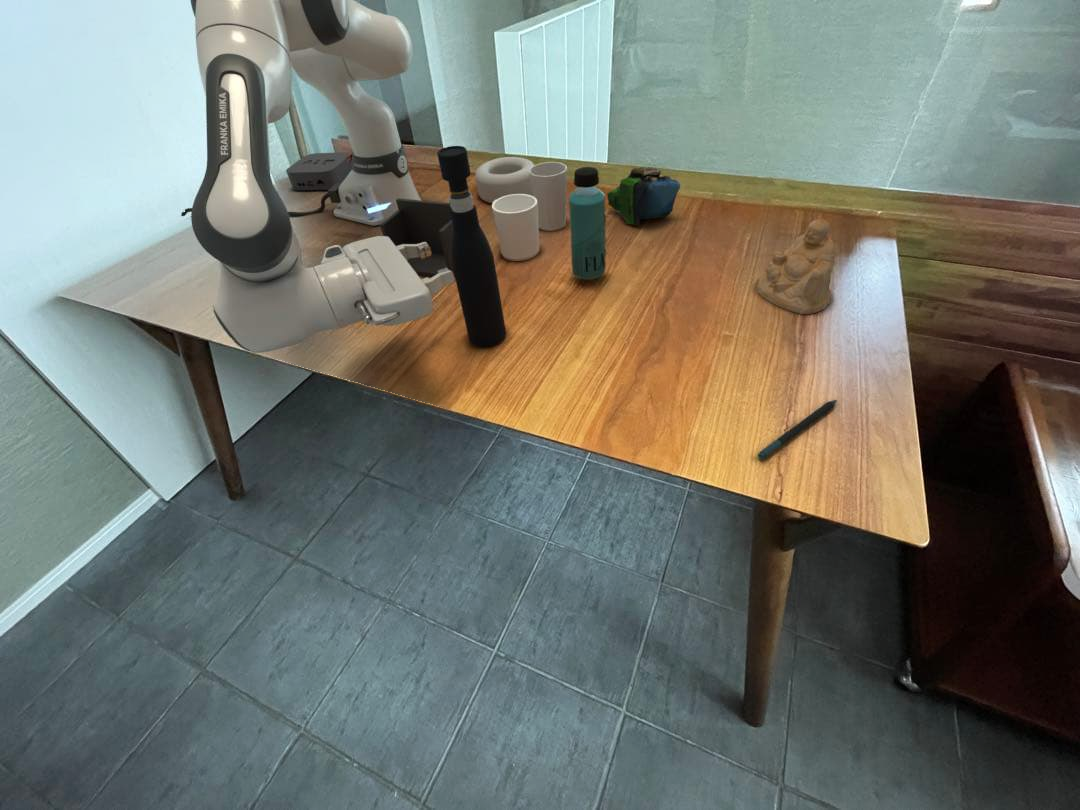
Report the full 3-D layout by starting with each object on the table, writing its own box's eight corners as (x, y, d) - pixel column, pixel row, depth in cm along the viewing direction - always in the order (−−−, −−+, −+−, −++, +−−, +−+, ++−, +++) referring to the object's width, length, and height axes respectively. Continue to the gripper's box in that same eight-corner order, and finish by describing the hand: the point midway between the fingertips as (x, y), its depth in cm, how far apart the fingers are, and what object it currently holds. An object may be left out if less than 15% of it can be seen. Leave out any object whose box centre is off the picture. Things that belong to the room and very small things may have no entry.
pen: (838, 405, 71) (841, 399, 70) (762, 462, 65) (764, 456, 64) (831, 401, 72) (834, 395, 71) (755, 457, 66) (757, 451, 65)
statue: (879, 231, 82) (846, 233, 77) (836, 313, 90) (804, 320, 85) (811, 208, 90) (777, 208, 85) (777, 285, 98) (744, 290, 92)
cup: (570, 215, 120) (568, 160, 112) (568, 231, 114) (565, 175, 106) (536, 216, 121) (531, 162, 113) (532, 232, 115) (526, 177, 107)
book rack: (392, 271, 108) (375, 215, 100) (412, 253, 113) (397, 198, 105) (452, 280, 104) (438, 222, 95) (470, 260, 109) (459, 203, 100)
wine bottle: (491, 352, 86) (455, 162, 65) (461, 341, 89) (417, 156, 68) (513, 330, 90) (485, 144, 69) (483, 321, 92) (448, 140, 72)
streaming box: (359, 170, 153) (353, 152, 150) (336, 191, 143) (329, 171, 140) (314, 171, 156) (308, 153, 152) (289, 191, 146) (281, 172, 142)
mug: (550, 248, 109) (546, 200, 102) (520, 266, 105) (514, 217, 98) (513, 235, 115) (507, 188, 108) (483, 252, 111) (475, 204, 104)
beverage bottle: (583, 290, 97) (579, 181, 83) (565, 275, 101) (559, 169, 87) (612, 280, 99) (614, 170, 85) (594, 265, 103) (592, 159, 89)
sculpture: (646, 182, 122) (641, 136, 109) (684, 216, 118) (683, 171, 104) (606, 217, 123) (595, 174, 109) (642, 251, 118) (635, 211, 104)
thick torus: (527, 207, 125) (524, 179, 120) (469, 204, 129) (464, 177, 124) (545, 182, 135) (542, 155, 131) (490, 180, 139) (486, 154, 134)
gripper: (358, 306, 64) (463, 271, 68) (324, 242, 77) (413, 216, 81) (374, 347, 68) (471, 312, 72) (339, 280, 82) (422, 253, 86)
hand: (440, 260), depth 77 cm, fingers open, 8 cm apart
